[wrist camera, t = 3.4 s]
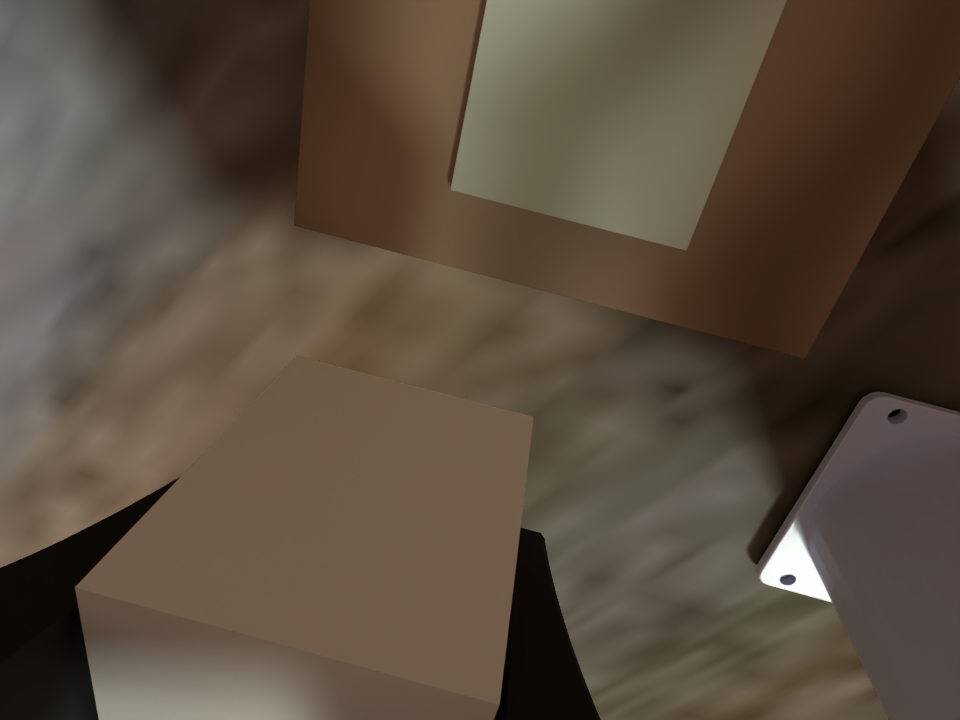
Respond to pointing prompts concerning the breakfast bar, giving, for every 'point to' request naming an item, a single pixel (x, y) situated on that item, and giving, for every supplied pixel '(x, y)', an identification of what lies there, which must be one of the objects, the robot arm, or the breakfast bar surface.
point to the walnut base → (626, 144)
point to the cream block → (320, 563)
